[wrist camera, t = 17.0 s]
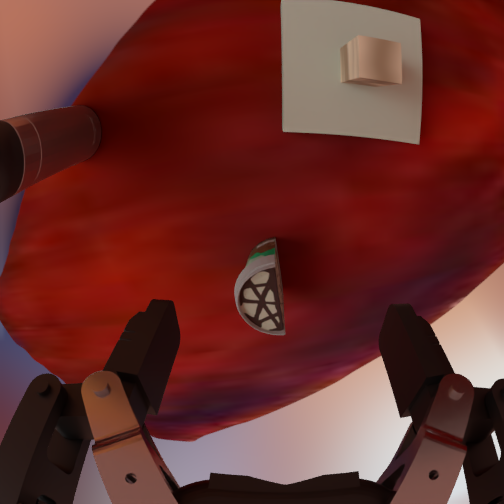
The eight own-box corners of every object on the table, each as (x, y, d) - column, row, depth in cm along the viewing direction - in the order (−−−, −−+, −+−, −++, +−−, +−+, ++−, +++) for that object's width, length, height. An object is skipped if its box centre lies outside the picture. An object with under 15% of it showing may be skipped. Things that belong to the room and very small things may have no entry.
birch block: (340, 82, 30) (359, 77, 23) (339, 48, 28) (358, 35, 21) (375, 86, 29) (401, 84, 22) (375, 53, 27) (400, 43, 20)
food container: (233, 233, 45) (223, 268, 36) (274, 228, 44) (274, 262, 35) (247, 299, 50) (242, 341, 41) (283, 295, 49) (285, 337, 41)
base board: (282, 129, 37) (283, 131, 33) (280, 6, 28) (281, -4, 25) (406, 140, 36) (419, 144, 32) (407, 24, 27) (419, 19, 24)
